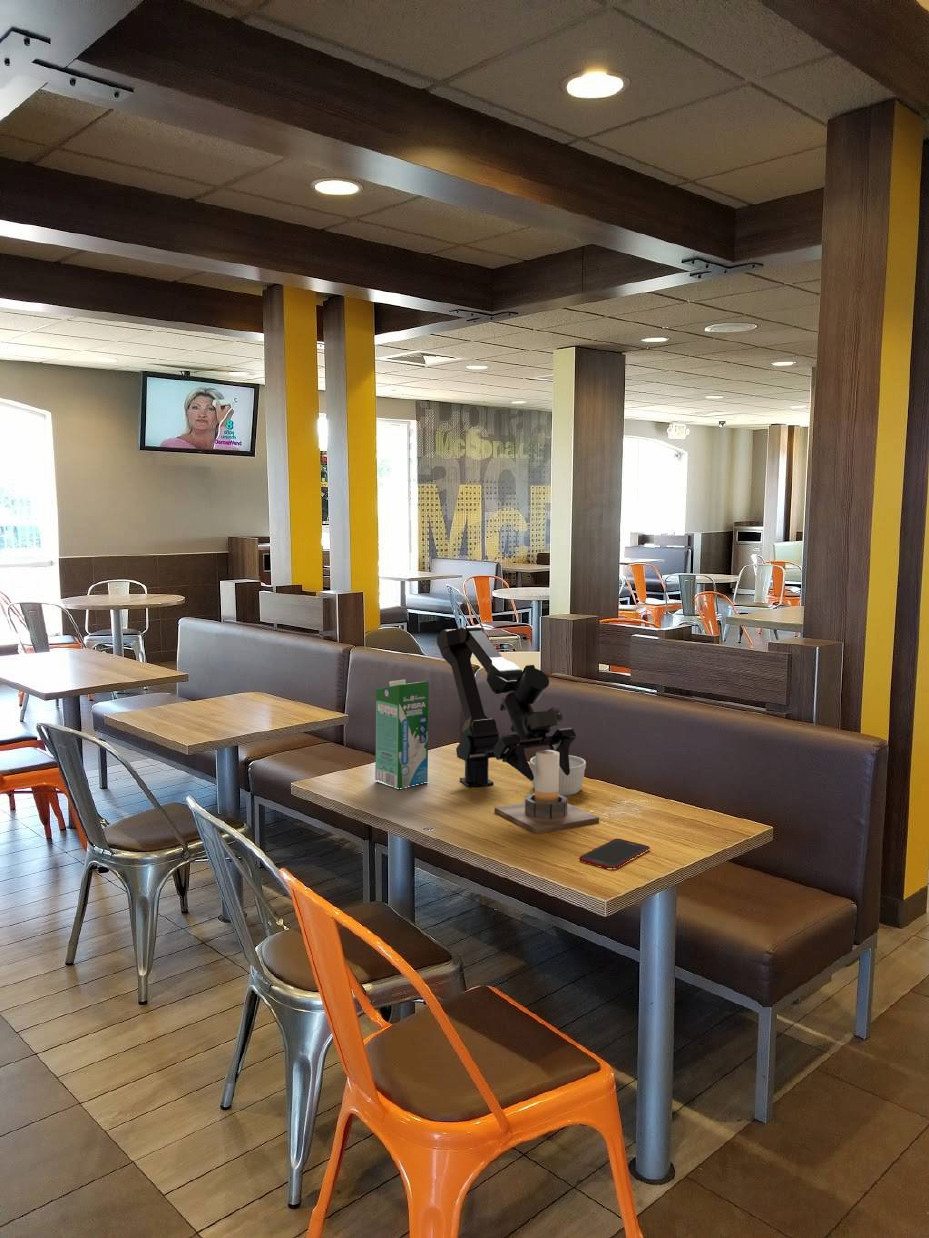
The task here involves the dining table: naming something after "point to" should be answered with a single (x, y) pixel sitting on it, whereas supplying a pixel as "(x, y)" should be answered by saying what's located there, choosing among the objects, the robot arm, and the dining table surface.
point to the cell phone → (614, 853)
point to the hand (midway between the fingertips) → (550, 777)
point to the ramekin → (567, 782)
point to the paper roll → (547, 776)
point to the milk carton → (402, 733)
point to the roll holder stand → (546, 815)
